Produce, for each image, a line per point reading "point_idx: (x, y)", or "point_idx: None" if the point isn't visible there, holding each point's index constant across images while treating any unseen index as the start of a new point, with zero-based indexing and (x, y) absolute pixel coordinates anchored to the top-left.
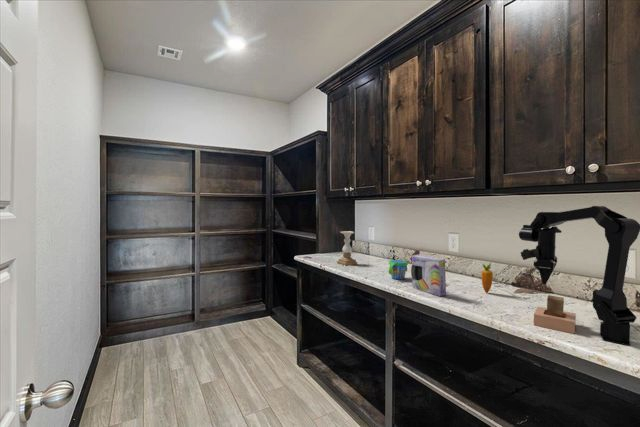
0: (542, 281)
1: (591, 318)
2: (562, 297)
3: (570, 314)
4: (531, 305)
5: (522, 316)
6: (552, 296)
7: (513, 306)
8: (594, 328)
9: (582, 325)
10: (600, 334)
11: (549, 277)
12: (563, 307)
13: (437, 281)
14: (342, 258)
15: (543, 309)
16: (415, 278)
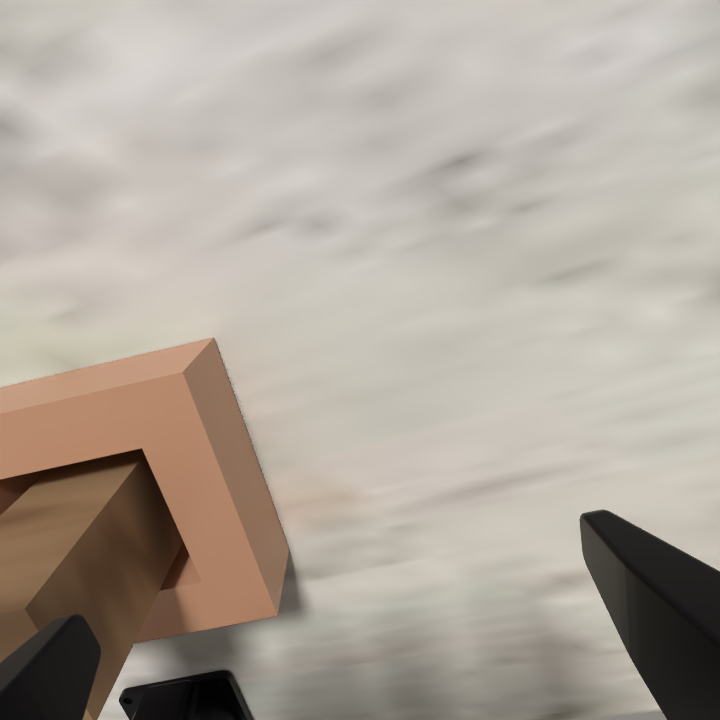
0: (7, 673)
1: (539, 571)
2: (87, 715)
3: (206, 602)
4: (566, 155)
5: (90, 253)
6: (11, 649)
7: (350, 34)
8: (310, 625)
9: (307, 576)
10: (142, 695)
11: (625, 642)
12: (145, 618)
13: None
14: None
15: (130, 439)
16: None
